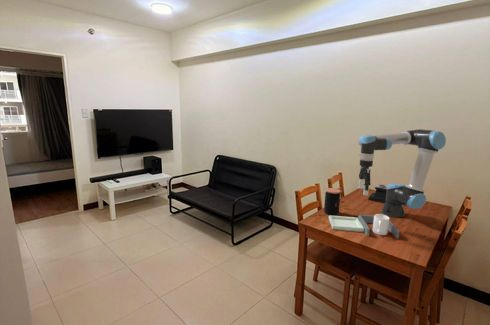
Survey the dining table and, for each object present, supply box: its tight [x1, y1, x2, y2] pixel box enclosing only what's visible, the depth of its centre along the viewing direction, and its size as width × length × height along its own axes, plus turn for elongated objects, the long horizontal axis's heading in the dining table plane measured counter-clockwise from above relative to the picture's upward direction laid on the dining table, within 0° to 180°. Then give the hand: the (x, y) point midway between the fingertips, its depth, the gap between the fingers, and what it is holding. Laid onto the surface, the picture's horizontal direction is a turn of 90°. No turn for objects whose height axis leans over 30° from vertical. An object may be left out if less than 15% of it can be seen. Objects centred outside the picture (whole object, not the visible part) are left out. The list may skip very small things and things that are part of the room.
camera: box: [368, 184, 387, 204], centre depth 226 cm, size 16×14×15 cm
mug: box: [372, 213, 390, 236], centre depth 165 cm, size 9×12×11 cm
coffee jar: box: [323, 187, 342, 216], centre depth 196 cm, size 11×11×18 cm
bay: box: [357, 214, 400, 240], centre depth 171 cm, size 18×22×5 cm
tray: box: [328, 215, 365, 233], centre depth 177 cm, size 19×17×2 cm
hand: (363, 191), depth 171 cm, fingers open, 13 cm apart
